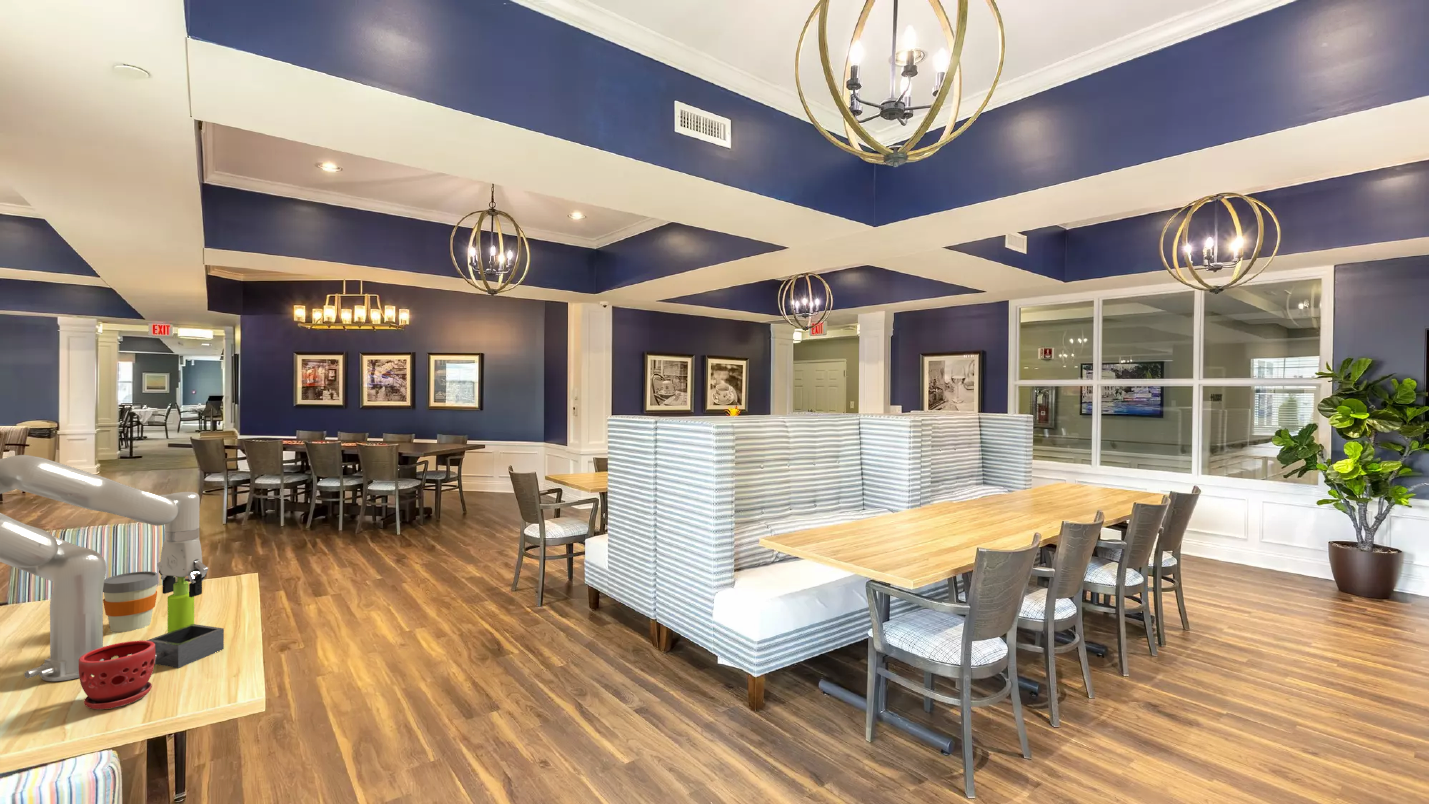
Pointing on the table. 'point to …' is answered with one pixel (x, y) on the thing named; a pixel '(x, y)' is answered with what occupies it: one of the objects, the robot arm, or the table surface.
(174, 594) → the soap dispenser
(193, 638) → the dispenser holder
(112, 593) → the reusable coffee cup
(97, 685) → the plant pot
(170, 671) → the table surface
